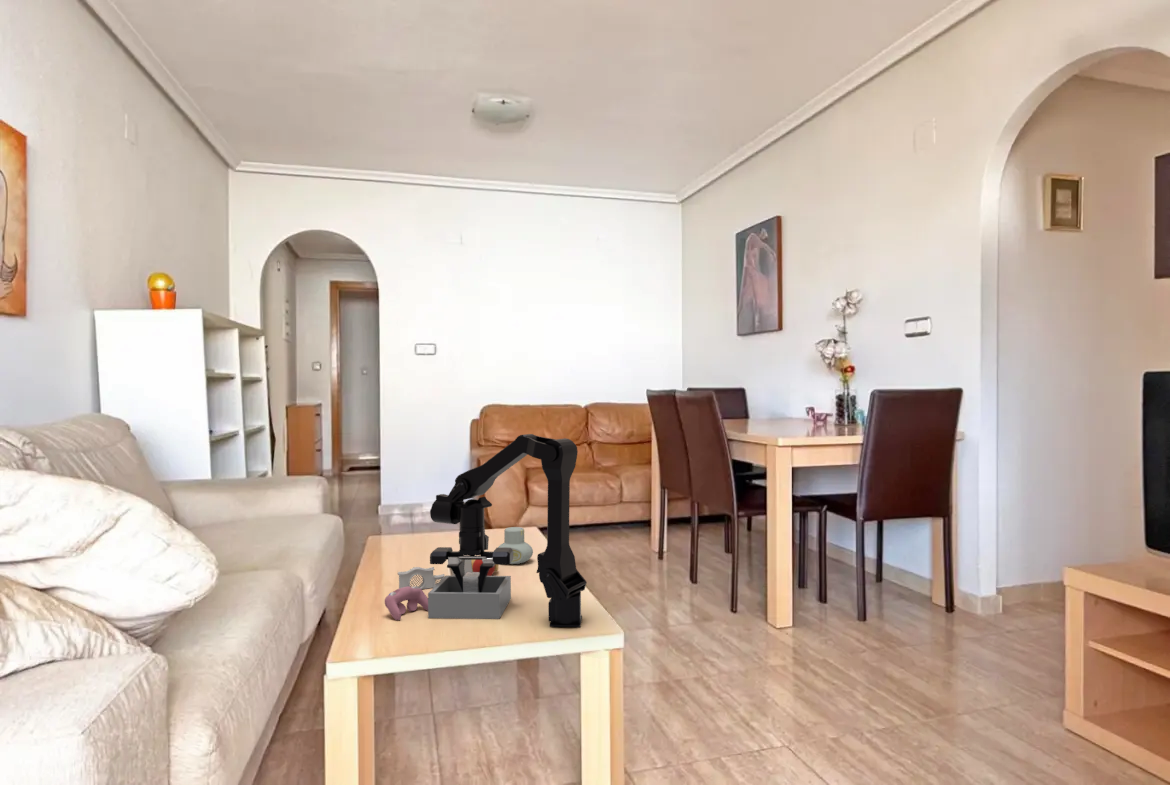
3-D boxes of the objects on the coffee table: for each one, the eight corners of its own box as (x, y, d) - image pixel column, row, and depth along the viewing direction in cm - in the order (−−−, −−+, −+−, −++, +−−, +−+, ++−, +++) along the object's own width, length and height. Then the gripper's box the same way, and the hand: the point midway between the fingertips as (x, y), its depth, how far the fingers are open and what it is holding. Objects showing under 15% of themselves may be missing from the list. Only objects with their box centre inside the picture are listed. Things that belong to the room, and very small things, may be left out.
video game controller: (423, 614, 158) (415, 585, 160) (434, 608, 155) (425, 579, 157) (387, 625, 150) (378, 595, 152) (398, 620, 147) (389, 589, 149)
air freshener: (535, 559, 203) (535, 526, 204) (529, 566, 195) (529, 531, 195) (500, 558, 205) (500, 525, 205) (492, 565, 197) (492, 531, 197)
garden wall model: (443, 584, 177) (443, 562, 177) (445, 586, 175) (445, 563, 175) (397, 592, 170) (397, 568, 171) (399, 593, 169) (399, 570, 169)
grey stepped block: (481, 595, 160) (481, 572, 160) (474, 605, 152) (473, 581, 152) (467, 595, 160) (466, 572, 160) (458, 605, 152) (458, 581, 152)
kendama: (473, 569, 197) (465, 577, 179) (477, 548, 198) (470, 553, 180) (499, 574, 197) (494, 582, 180) (503, 552, 198) (498, 558, 181)
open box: (510, 598, 164) (510, 575, 164) (499, 618, 149) (499, 594, 149) (446, 597, 165) (445, 575, 165) (428, 618, 150) (428, 593, 150)
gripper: (516, 519, 165) (517, 583, 165) (442, 519, 167) (442, 582, 166) (509, 528, 154) (509, 596, 154) (428, 528, 155) (429, 596, 155)
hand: (472, 592), depth 158 cm, fingers closed on grey stepped block, 3 cm apart
